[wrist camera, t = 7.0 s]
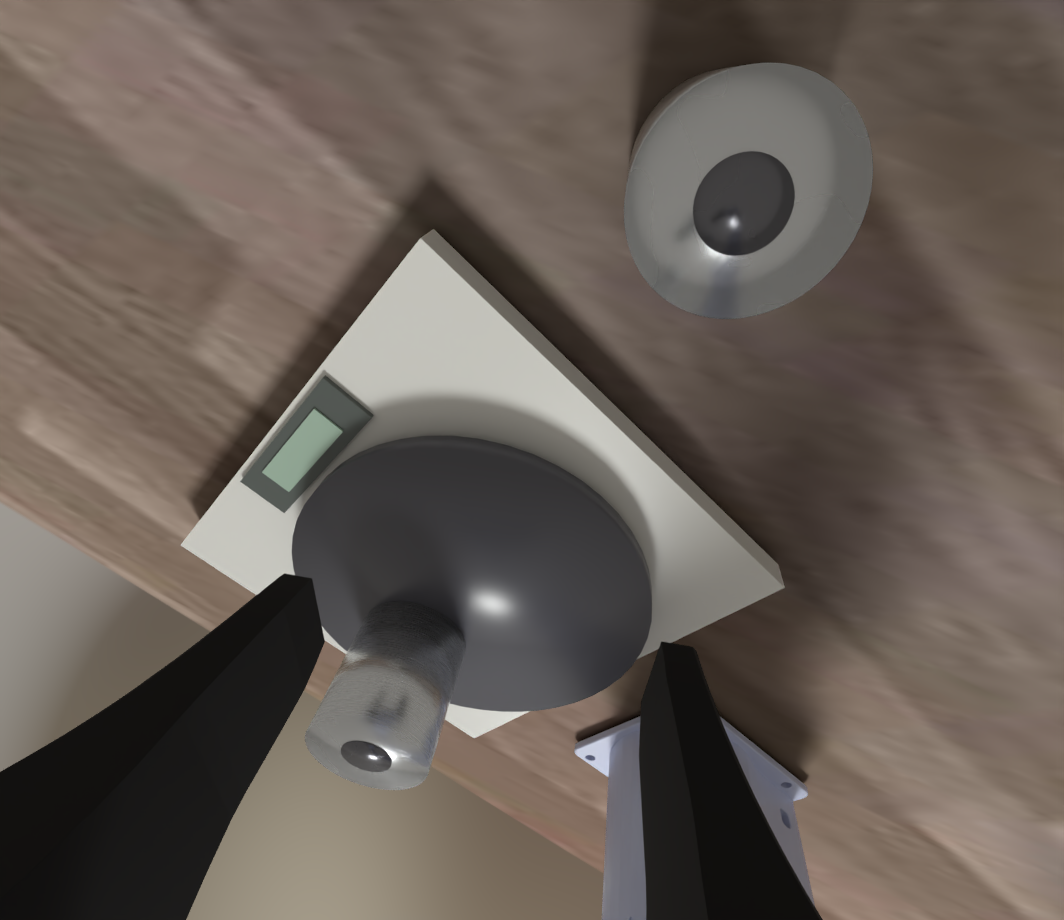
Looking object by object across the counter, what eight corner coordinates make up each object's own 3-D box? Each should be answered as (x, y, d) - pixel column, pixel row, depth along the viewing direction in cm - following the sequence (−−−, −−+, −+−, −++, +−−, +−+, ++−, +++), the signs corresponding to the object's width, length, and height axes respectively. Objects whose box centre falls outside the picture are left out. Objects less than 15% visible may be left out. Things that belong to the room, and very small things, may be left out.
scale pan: (730, 612, 21) (734, 629, 20) (489, 729, 28) (486, 745, 27) (441, 352, 17) (433, 363, 16) (243, 564, 24) (232, 578, 23)
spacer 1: (486, 643, 23) (452, 767, 19) (428, 684, 25) (386, 803, 21) (398, 584, 22) (340, 703, 18) (345, 633, 24) (283, 748, 20)
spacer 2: (841, 169, 14) (923, 205, 10) (698, 290, 16) (717, 360, 12) (734, 19, 13) (777, -9, 9) (594, 172, 15) (576, 206, 11)
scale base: (778, 564, 21) (787, 595, 20) (479, 717, 30) (472, 745, 29) (433, 228, 17) (415, 241, 15) (198, 527, 26) (174, 551, 24)
